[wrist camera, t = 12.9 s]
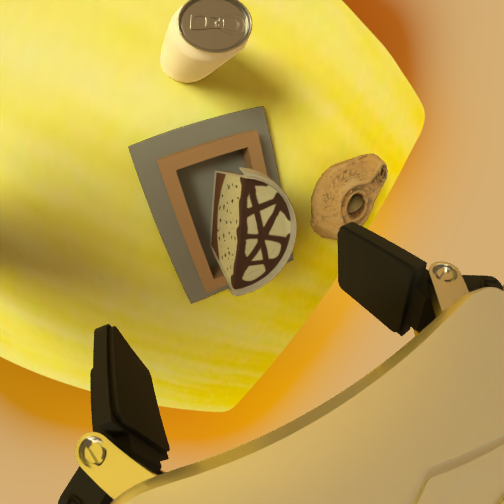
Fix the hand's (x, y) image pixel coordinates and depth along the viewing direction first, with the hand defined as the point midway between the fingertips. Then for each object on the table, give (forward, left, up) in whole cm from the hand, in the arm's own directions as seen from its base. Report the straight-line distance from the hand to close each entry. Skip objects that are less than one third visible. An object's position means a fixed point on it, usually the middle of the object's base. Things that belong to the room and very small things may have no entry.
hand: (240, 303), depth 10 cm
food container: (+6, -6, -23) cm, 24 cm away
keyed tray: (+5, -5, -24) cm, 25 cm away
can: (+6, +14, -24) cm, 28 cm away
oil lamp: (+22, -8, -24) cm, 34 cm away
